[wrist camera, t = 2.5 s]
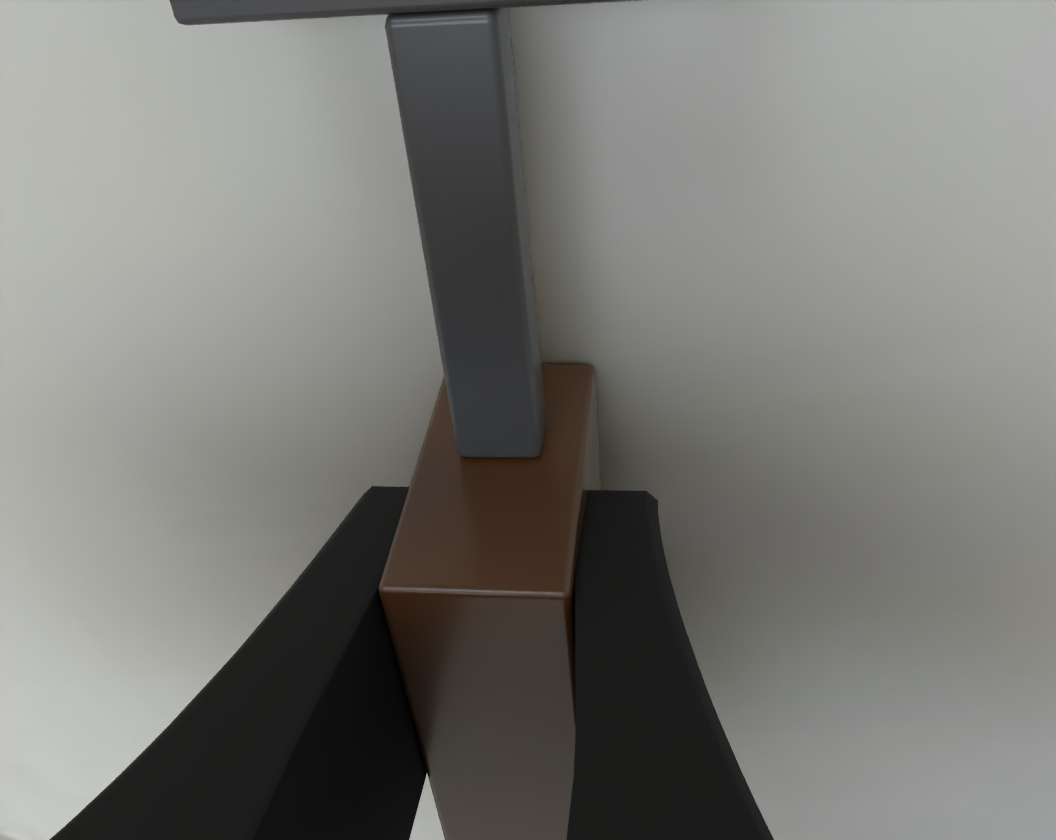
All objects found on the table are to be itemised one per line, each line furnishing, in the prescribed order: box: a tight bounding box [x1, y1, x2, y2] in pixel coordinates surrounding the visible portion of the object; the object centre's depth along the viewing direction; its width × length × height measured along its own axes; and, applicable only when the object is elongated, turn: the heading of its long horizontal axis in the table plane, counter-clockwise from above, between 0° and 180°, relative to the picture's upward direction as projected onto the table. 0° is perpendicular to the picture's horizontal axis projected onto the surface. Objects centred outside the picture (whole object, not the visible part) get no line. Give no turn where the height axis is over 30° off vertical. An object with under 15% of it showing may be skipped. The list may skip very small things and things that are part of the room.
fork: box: [170, 0, 639, 840], centre depth 9 cm, size 14×4×3 cm, turn 5°
